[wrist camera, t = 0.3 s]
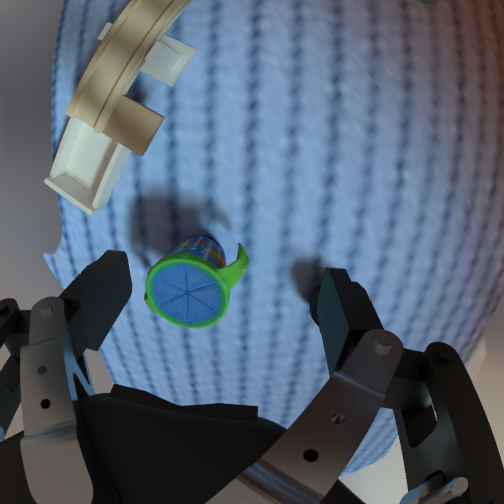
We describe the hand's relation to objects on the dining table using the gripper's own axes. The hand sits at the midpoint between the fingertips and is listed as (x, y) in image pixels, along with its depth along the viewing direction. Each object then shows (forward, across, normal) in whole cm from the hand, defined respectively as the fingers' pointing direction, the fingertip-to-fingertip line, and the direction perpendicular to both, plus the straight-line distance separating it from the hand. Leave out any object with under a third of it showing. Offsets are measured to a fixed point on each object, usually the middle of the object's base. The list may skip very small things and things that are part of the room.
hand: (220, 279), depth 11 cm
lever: (+21, +12, -14) cm, 28 cm away
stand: (+28, +14, -16) cm, 35 cm away
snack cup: (+28, +7, +14) cm, 32 cm away
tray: (+28, +23, -1) cm, 36 cm away
